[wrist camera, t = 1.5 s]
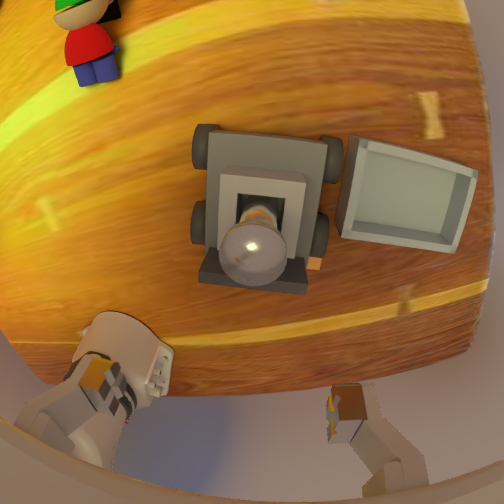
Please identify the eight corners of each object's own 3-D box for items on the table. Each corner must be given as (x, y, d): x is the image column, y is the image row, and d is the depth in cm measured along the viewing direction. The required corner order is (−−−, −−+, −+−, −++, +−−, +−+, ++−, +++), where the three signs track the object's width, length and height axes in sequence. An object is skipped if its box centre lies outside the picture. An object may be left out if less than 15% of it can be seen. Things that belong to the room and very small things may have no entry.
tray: (440, 238, 36) (454, 253, 32) (334, 222, 36) (340, 237, 32) (460, 162, 30) (479, 171, 26) (349, 134, 31) (359, 138, 27)
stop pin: (281, 226, 30) (282, 289, 20) (237, 221, 30) (217, 282, 20) (287, 184, 28) (291, 230, 18) (240, 179, 28) (220, 222, 18)
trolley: (316, 258, 39) (328, 314, 28) (200, 245, 39) (174, 296, 29) (338, 136, 31) (365, 151, 21) (204, 122, 32) (171, 131, 22)
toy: (143, 58, 31) (124, -40, 18) (118, 84, 27) (89, -32, 14) (91, 69, 32) (67, -18, 19) (62, 97, 27) (28, -2, 15)
